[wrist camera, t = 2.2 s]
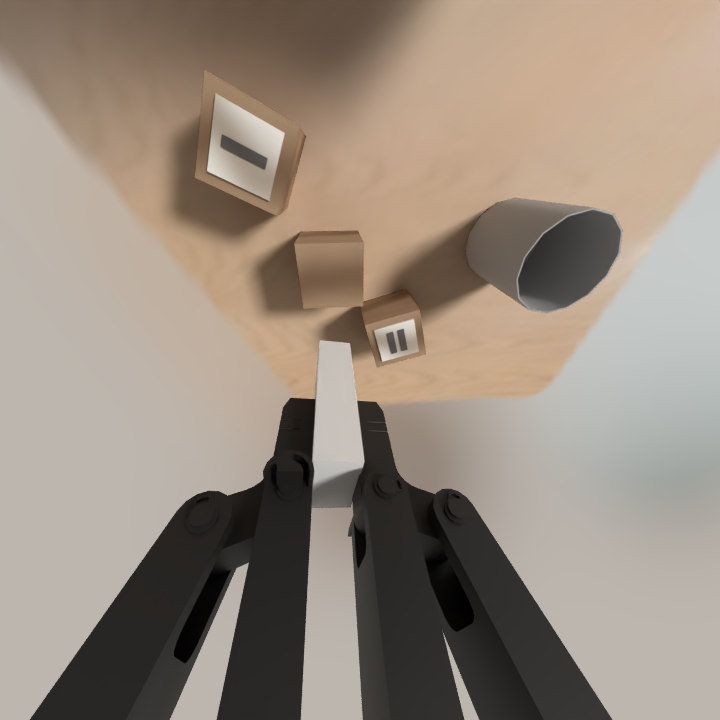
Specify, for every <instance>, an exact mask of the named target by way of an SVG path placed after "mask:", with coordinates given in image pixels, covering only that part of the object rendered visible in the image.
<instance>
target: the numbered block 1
mask: <svg viewBox="0 0 720 720" xmlns="http://www.w3.org/2000/svg"><path fill="white" fill-rule="evenodd" d="M305 139H306V136H305V134H304V132H303V131H302V129H301V128H300V126H299V125H297V124H295V123H294V122H292V121H290V120H289V119H287V118H285V117H284V116H282V115H280V114H279V113H277V112H275V111H274V110H272V109H270V108H268V107H267V106H265V105H263V104H262V103H260V102H258V101H257V100H255V99H253V98H252V97H250V96H248V95H247V94H245V93H243V92H242V91H240V90H238V89H237V88H235V87H233V86H232V85H230V84H228V83H227V82H225V81H223V80H221V79H220V78H218V77H216V76H215V75H213V74H211V73H210V72H208V71H206V70H205V69H204V80H203V92H202V103H201V114H200V125H199V137H198V148H197V159H196V171H195V178H197V179H199V180H201V181H203V182H205V183H207V184H209V185H212V186H214V187H216V188H218V189H220V190H222V191H224V192H227V193H229V194H231V195H233V196H235V197H237V198H239V199H241V200H244V201H246V202H248V203H250V204H252V205H254V206H256V207H259V208H261V209H263V210H265V211H267V212H269V213H271V214H274V215H276V216H278V215H279V214H281V213H282V212H283V211H284V210H286V209H287V207H288V203H289V199H290V195H291V192H292V188H293V184H294V180H295V176H296V173H297V169H298V165H299V161H300V158H301V154H302V150H303V146H304V142H305Z"/></svg>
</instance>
